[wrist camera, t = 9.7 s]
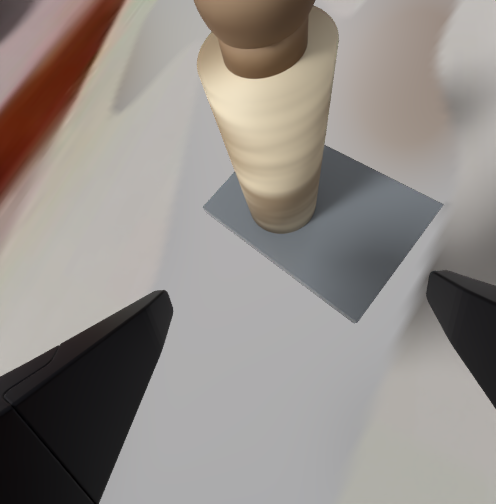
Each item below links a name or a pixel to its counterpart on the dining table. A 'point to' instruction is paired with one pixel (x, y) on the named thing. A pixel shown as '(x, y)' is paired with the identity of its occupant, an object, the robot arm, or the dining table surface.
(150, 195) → the dining table surface
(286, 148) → the pepper mill
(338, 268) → the slate board
